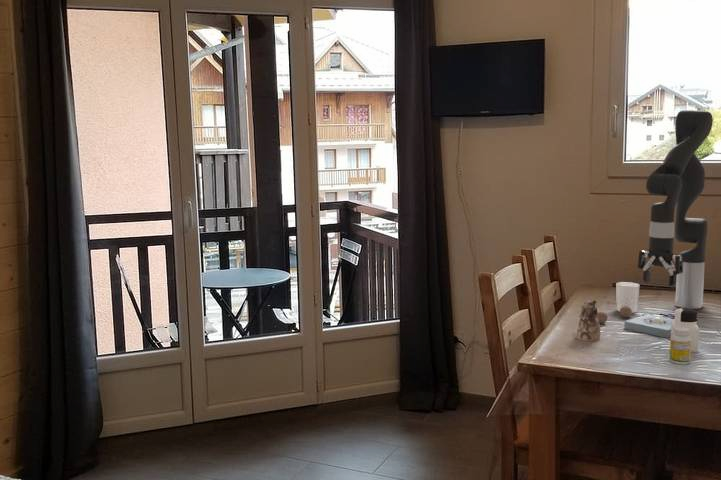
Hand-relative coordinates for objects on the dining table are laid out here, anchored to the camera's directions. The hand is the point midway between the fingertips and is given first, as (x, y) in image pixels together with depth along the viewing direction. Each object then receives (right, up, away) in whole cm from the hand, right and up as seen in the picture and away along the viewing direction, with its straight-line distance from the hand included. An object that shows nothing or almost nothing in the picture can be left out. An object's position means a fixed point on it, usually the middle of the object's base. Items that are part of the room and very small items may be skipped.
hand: (659, 284), depth 237 cm
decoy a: (-5, -11, +18) cm, 21 cm away
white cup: (-1, -12, +27) cm, 30 cm away
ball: (0, -13, +2) cm, 13 cm away
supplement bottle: (-8, -20, -33) cm, 40 cm away
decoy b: (-16, -12, +10) cm, 22 cm away
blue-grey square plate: (0, -15, +2) cm, 15 cm away
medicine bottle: (-1, -18, -20) cm, 27 cm away
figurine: (-26, -17, -8) cm, 32 cm away
